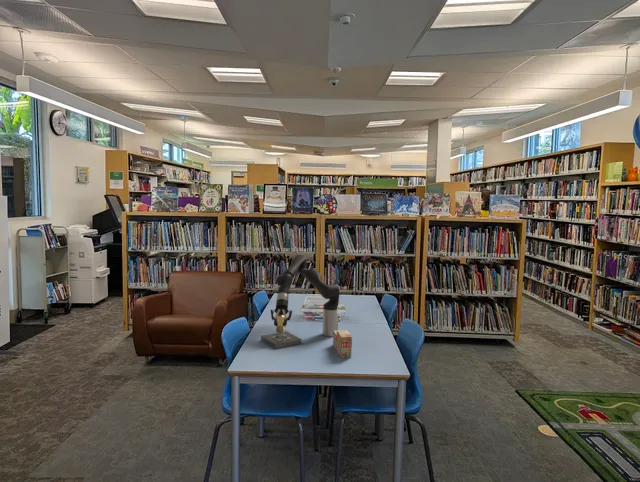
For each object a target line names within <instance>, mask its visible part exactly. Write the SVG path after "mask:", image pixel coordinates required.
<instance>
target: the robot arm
mask: <svg viewBox="0 0 640 482" xmlns="http://www.w3.org/2000/svg"><path fill="white" fill-rule="evenodd" d="M307 260H308V258H307V256H306V255H303V254H297V255H295V256H294V259H293V261H292V262H291V263H290V265H289V267H288V268H287V269H286V270H285V271H284V272H281V274H279V275H278V276H277V277H276V284H277V285H278V286H279V287H278V289H277V296H276V301H275V308H274V309H270V310H269V311H270V316H271V317H270V318H271V320H272V321H273V325H274V326H275V327H276V319H277V315H278V314H283V315H285V321H284V327H286V326H287V325H288V321H290V320H291V318H292V315H293V310H292V309H289V296H290V295H289V294H290V293H289V292H290V289H291V287H292V285H293V279H294V277H295V276H296V275H297V273H299V274H300V275H302V276H303V277H304V278H305V279H306V280H307V281H308V283H310V284H311V285H312V286H313V287H314V288H315V289H316V291H318V293H319V294H320V296H321V297H323V298H324V299H325V300H328V301H326V302H325V303H323V307H322V308H323V310H322V313H323V314H322V336H325V337H333V331H336V330H339V320H338V307H339V303H340V302H339V301H340V287H339V285H338V284H335V283H333V284H332V283H331V284H330V283H329V284H325V283H324V282H323V275H322V274H321V273H320V272H319V270H317V269H315V268H309V269H307V264H308V263H307V262H308V261H307ZM274 314H275V316H274ZM287 314H288V317H287Z"/></svg>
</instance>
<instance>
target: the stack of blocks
mask: <svg viewBox="0 0 640 482" xmlns="http://www.w3.org/2000/svg"><path fill="white" fill-rule="evenodd" d="M332 338H333V339H332V341H333V342H332V346H333V347H334V349H335V351H336V352H337V354H338V356H339V358H340V359H343V358H344V359H346V358H351V359H352V347H353V336H352V334H351V333H350V332H349V330H347V329H338V330H336V331H333V336H332Z"/></svg>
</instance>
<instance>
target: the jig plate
mask: <svg viewBox="0 0 640 482" xmlns="http://www.w3.org/2000/svg"><path fill="white" fill-rule="evenodd" d="M260 341H261V342H263V343H265V344H266V345H268V346H269V347H271V348H273V349H275V350H278V349H282V348H283V349H284V348H288V347H293V346H298V345H302V341H303V340H302V338H300V337H298V336H296V335H294V334H292V333H290V332H288V331H285V330H284V332H283V333H278V332H274V333H269V334H263V335H260Z"/></svg>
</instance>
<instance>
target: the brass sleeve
mask: <svg viewBox="0 0 640 482" xmlns="http://www.w3.org/2000/svg"><path fill="white" fill-rule="evenodd" d="M284 321H285V315H283V314H278V315H277V319H276V326H275V329H276V332H275V333H283V332H285V326H284Z"/></svg>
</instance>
